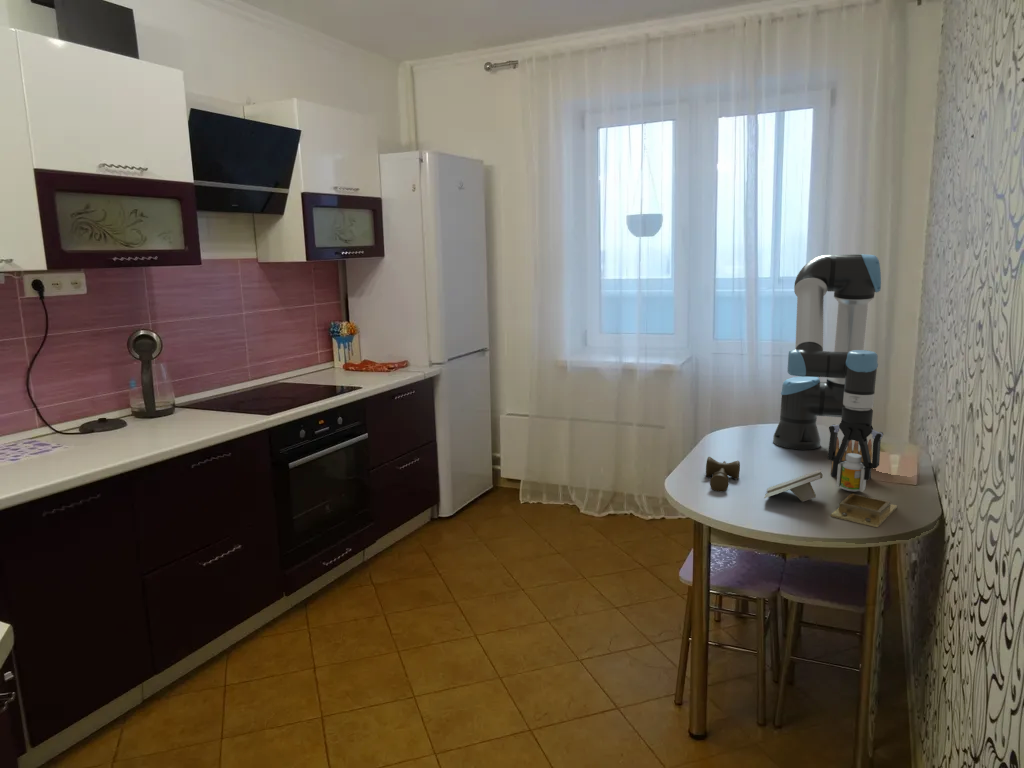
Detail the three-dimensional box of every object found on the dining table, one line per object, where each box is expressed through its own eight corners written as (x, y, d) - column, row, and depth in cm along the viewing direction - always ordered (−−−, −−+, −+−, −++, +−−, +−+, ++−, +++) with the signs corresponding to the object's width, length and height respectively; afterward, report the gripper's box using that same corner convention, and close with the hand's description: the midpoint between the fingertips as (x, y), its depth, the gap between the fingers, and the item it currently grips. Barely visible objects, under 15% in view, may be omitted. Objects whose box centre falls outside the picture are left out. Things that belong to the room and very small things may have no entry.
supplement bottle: (836, 486, 197) (838, 453, 195) (852, 483, 198) (855, 451, 196) (849, 492, 192) (852, 459, 189) (865, 490, 193) (869, 457, 191)
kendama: (700, 491, 197) (707, 468, 216) (736, 496, 194) (740, 472, 212) (701, 472, 196) (708, 450, 214) (737, 476, 193) (741, 454, 211)
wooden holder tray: (852, 498, 189) (853, 489, 189) (896, 507, 182) (897, 498, 181) (830, 516, 177) (831, 506, 177) (877, 527, 170) (878, 517, 169)
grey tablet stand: (784, 525, 182) (834, 494, 176) (762, 498, 184) (811, 466, 178) (787, 513, 197) (834, 483, 191) (767, 488, 199) (813, 458, 193)
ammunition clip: (831, 476, 207) (834, 437, 204) (830, 474, 209) (833, 436, 206) (870, 479, 204) (874, 440, 202) (869, 477, 206) (873, 438, 203)
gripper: (818, 404, 193) (812, 483, 198) (890, 415, 181) (882, 499, 186) (827, 399, 198) (821, 476, 203) (898, 409, 186) (890, 491, 191)
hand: (850, 487), depth 194 cm, fingers closed on supplement bottle, 5 cm apart
